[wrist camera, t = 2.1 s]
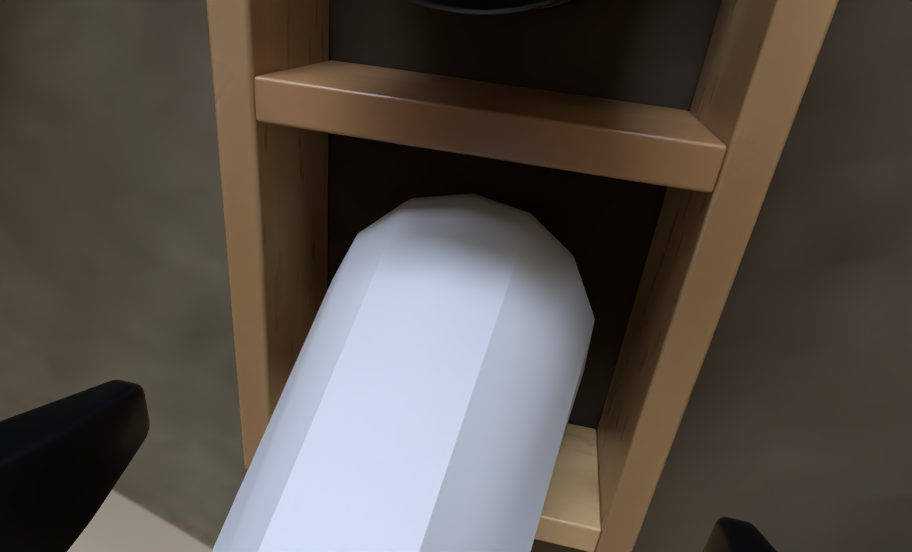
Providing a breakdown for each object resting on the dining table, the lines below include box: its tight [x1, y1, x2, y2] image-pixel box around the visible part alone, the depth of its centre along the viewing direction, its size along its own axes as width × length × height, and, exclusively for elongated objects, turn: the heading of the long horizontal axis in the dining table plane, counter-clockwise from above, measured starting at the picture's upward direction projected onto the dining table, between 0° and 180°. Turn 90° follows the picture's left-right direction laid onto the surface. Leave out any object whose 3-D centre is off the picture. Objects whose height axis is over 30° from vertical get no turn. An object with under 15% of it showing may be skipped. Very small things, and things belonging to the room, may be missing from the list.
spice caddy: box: [206, 0, 839, 552], centre depth 11 cm, size 10×18×4 cm, turn 174°
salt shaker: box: [212, 193, 595, 552], centre depth 9 cm, size 6×6×13 cm
